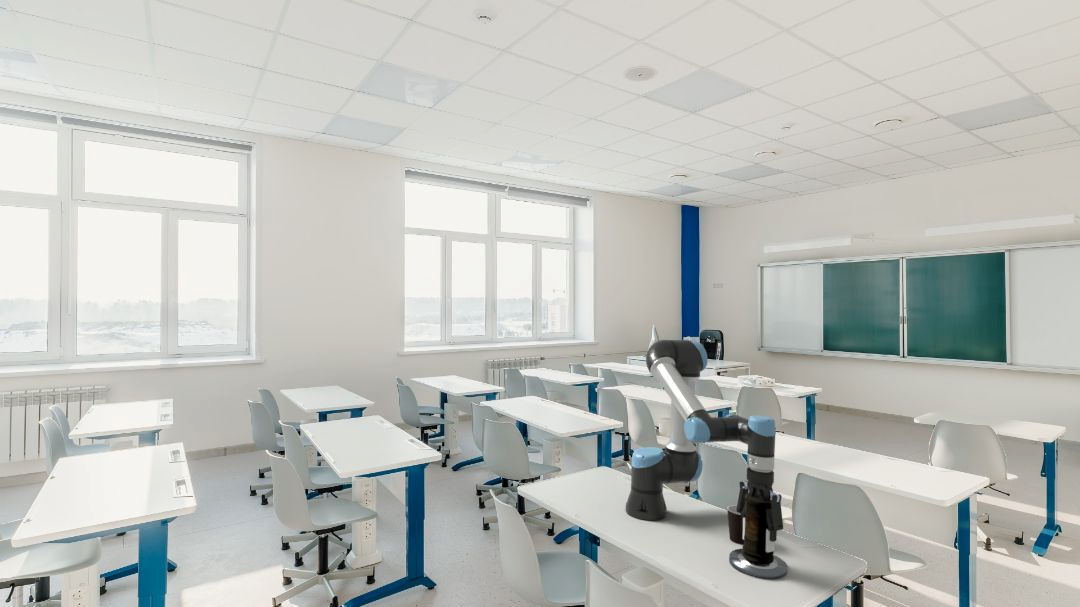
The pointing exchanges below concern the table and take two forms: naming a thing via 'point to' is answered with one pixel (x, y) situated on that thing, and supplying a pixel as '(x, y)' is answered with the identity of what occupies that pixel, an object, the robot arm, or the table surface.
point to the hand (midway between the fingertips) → (758, 544)
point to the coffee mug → (735, 525)
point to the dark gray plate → (758, 566)
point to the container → (756, 531)
